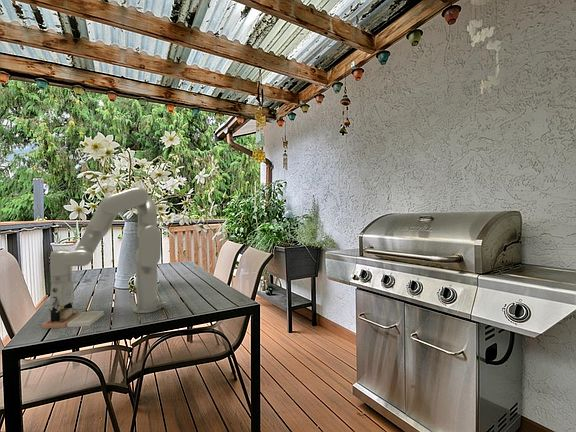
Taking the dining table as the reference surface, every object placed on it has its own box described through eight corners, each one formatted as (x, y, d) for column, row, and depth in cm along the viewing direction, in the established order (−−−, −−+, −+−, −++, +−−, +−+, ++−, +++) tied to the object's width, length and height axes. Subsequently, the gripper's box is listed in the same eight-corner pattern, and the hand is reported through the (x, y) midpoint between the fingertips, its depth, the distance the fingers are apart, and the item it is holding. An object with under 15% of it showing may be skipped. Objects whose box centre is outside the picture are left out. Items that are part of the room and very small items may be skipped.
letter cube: (72, 319, 141) (72, 307, 140) (66, 323, 136) (65, 311, 135) (60, 319, 140) (59, 308, 140) (53, 324, 135) (53, 312, 135)
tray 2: (103, 316, 147) (103, 310, 146) (89, 327, 133) (89, 321, 133) (84, 317, 145) (84, 311, 145) (67, 328, 132) (67, 323, 131)
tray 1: (81, 317, 145) (81, 311, 145) (64, 329, 131) (64, 323, 131) (61, 318, 144) (61, 312, 144) (42, 330, 130) (42, 324, 130)
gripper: (59, 283, 129) (59, 324, 129) (81, 274, 146) (81, 310, 147) (39, 283, 128) (39, 325, 128) (63, 274, 145) (63, 311, 146)
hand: (62, 317), depth 137 cm, fingers open, 9 cm apart
